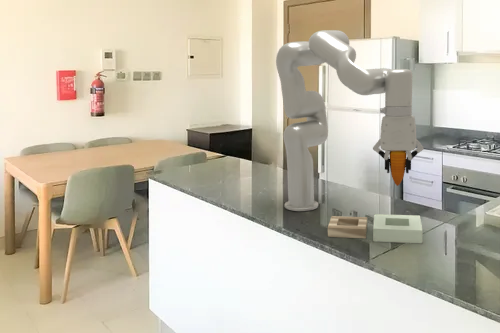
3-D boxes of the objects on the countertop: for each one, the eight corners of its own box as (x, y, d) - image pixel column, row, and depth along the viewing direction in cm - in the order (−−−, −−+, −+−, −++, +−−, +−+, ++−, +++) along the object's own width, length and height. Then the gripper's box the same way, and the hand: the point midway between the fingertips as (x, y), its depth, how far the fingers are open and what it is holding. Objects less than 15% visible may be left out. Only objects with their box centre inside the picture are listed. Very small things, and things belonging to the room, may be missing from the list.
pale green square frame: (374, 226, 167) (374, 214, 166) (419, 227, 163) (419, 215, 162) (373, 241, 154) (373, 228, 153) (422, 243, 150) (422, 230, 149)
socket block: (331, 224, 170) (331, 216, 170) (367, 226, 167) (367, 217, 167) (327, 236, 159) (327, 227, 159) (365, 238, 156) (365, 229, 156)
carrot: (385, 185, 157) (386, 136, 153) (399, 183, 158) (399, 134, 155) (395, 188, 152) (396, 138, 149) (409, 186, 154) (410, 137, 151)
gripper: (368, 114, 149) (368, 174, 153) (429, 112, 145) (428, 175, 149) (369, 111, 156) (369, 169, 160) (428, 109, 152) (426, 169, 156)
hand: (397, 171), depth 154 cm, fingers closed on carrot, 4 cm apart
